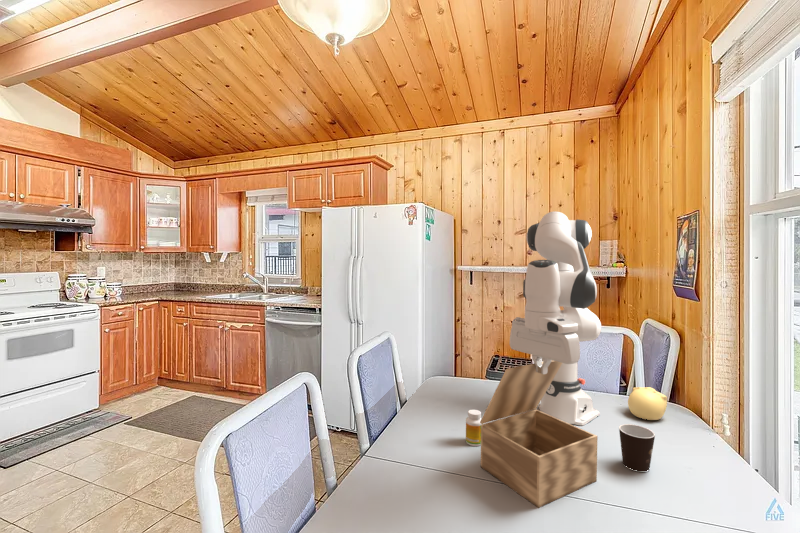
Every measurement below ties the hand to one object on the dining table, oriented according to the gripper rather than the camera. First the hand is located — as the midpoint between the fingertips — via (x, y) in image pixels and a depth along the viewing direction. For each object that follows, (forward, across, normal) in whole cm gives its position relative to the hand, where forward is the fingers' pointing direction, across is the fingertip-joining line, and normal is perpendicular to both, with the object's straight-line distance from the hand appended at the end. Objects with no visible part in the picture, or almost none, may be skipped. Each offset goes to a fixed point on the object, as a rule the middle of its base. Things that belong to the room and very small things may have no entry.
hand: (541, 373), depth 103 cm
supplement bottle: (+28, -23, -3) cm, 36 cm away
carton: (+28, -1, 0) cm, 28 cm away
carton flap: (+7, -6, 0) cm, 9 cm away
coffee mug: (+28, +10, +29) cm, 41 cm away
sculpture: (+28, -7, +65) cm, 71 cm away
